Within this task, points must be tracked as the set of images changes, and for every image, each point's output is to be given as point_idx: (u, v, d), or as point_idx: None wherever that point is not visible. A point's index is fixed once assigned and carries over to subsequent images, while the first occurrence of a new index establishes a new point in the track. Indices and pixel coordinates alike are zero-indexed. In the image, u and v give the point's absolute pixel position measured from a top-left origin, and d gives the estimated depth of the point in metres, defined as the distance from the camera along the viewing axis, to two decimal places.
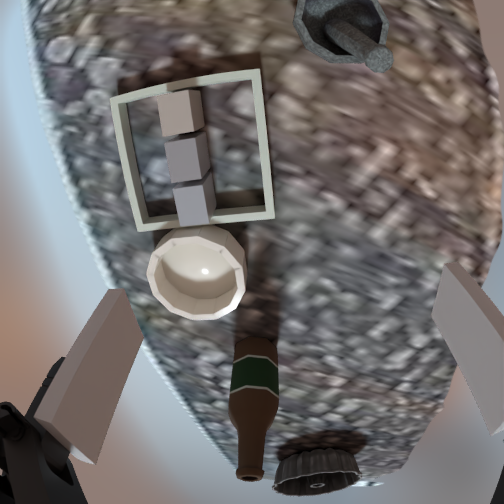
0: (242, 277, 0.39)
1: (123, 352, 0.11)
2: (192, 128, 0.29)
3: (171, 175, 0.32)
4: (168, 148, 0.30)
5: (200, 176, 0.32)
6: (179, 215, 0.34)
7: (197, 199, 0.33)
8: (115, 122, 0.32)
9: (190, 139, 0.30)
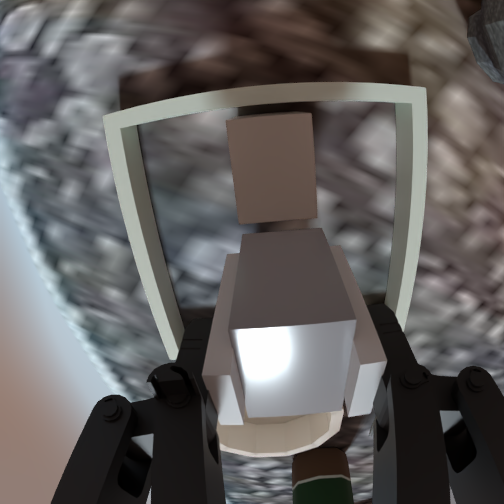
0: (340, 419, 0.23)
1: None
2: (314, 211, 0.13)
3: (250, 405, 0.10)
4: (245, 345, 0.08)
5: (340, 405, 0.10)
6: None
7: None
8: (115, 169, 0.16)
9: (337, 324, 0.08)
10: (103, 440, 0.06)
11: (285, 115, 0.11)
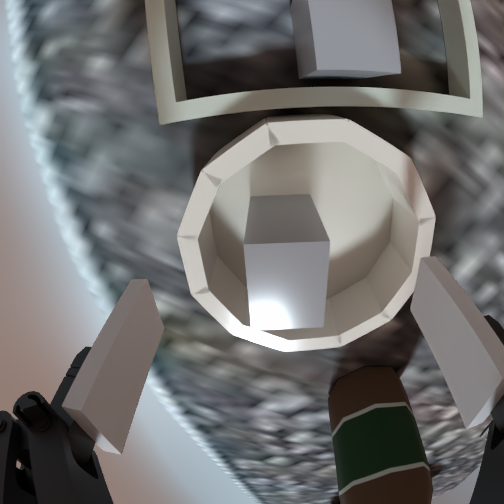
0: (429, 243, 0.14)
1: (146, 341, 0.11)
2: None
3: (253, 316, 0.14)
4: (254, 258, 0.12)
5: (321, 322, 0.14)
6: (318, 36, 0.09)
7: (374, 3, 0.08)
8: None
9: (317, 243, 0.12)
10: None
11: None
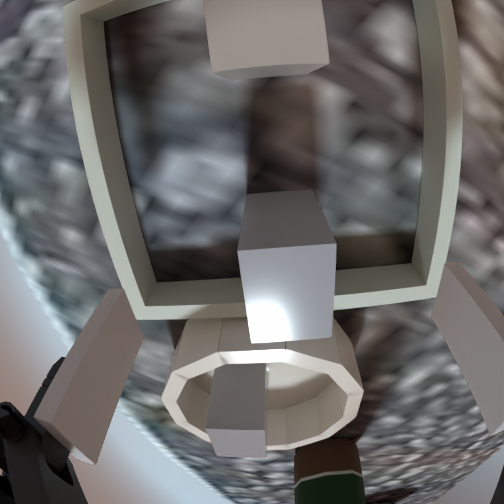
0: (357, 403, 0.17)
1: (123, 352, 0.11)
2: (324, 53, 0.07)
3: (217, 452, 0.17)
4: (213, 433, 0.16)
5: (265, 455, 0.17)
6: (252, 320, 0.12)
7: (313, 281, 0.11)
8: (69, 61, 0.10)
9: (255, 430, 0.15)
10: None
11: None
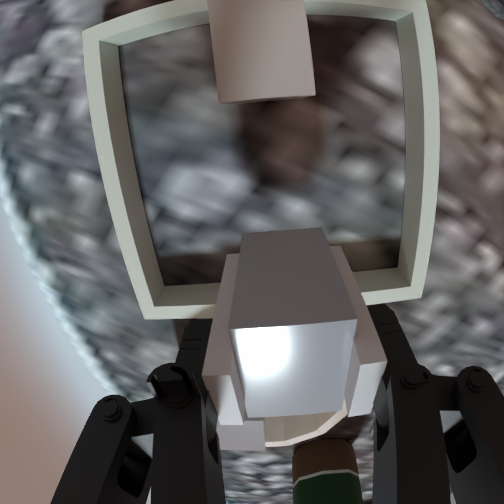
0: None
1: None
2: (311, 86, 0.09)
3: None
4: None
5: (264, 448, 0.19)
6: (248, 397, 0.09)
7: (325, 360, 0.08)
8: (89, 83, 0.12)
9: (255, 421, 0.17)
10: (103, 440, 0.06)
11: None
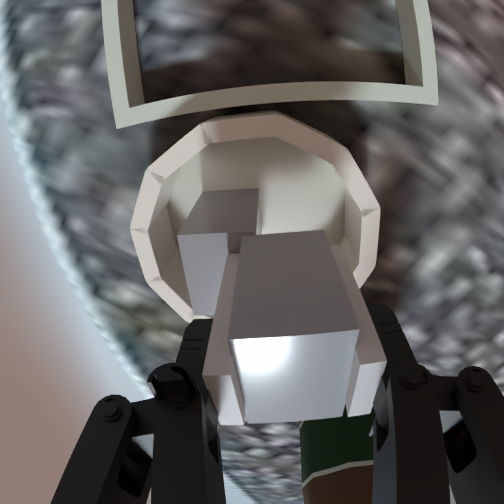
0: (375, 234, 0.15)
1: None
2: None
3: (194, 302, 0.15)
4: (187, 248, 0.13)
5: None
6: (248, 404, 0.09)
7: (326, 369, 0.08)
8: None
9: (244, 233, 0.13)
10: (103, 440, 0.06)
11: None
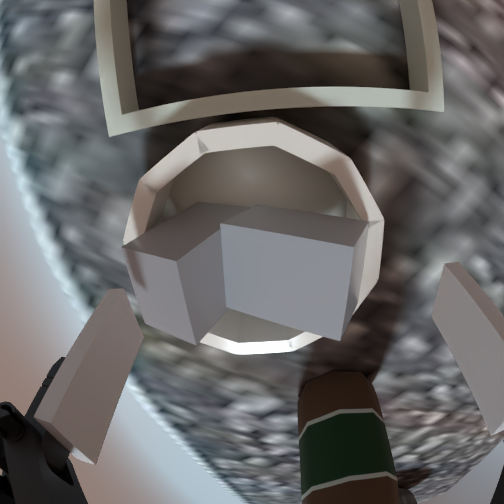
0: (379, 247, 0.14)
1: (123, 352, 0.11)
2: None
3: (143, 312, 0.15)
4: (130, 261, 0.13)
5: (194, 340, 0.14)
6: (345, 314, 0.12)
7: (362, 257, 0.14)
8: None
9: (167, 260, 0.12)
10: None
11: None
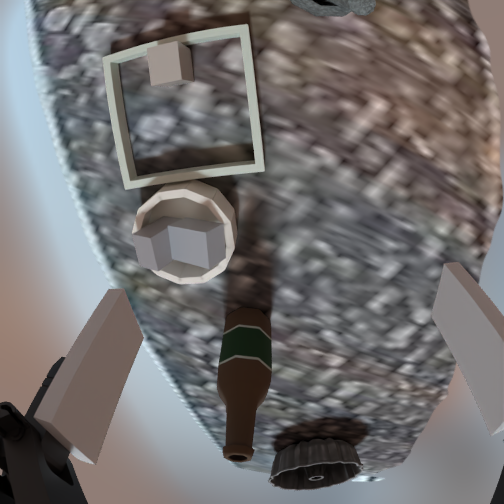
0: (231, 233, 0.37)
1: (123, 352, 0.11)
2: (180, 76, 0.27)
3: (139, 260, 0.37)
4: (135, 239, 0.36)
5: (157, 269, 0.36)
6: (209, 258, 0.35)
7: (220, 237, 0.36)
8: (106, 80, 0.30)
9: (147, 238, 0.34)
10: None
11: (168, 43, 0.25)
